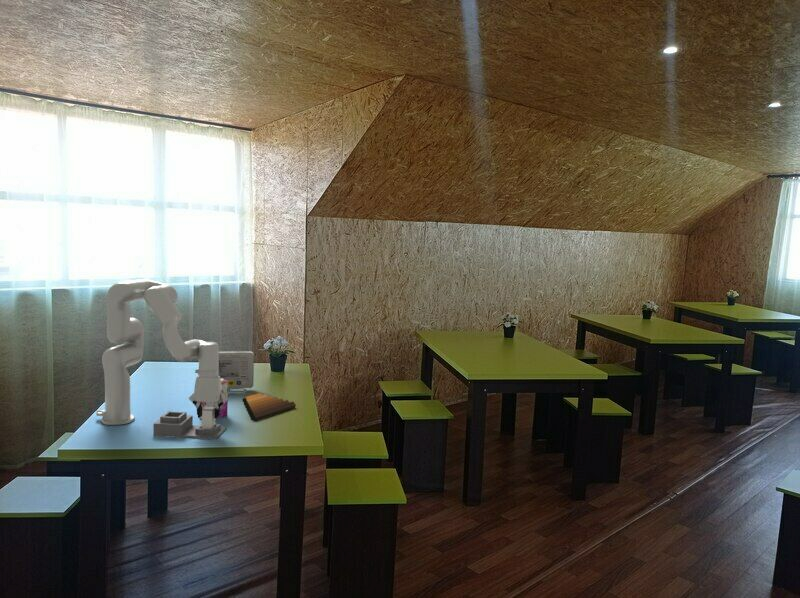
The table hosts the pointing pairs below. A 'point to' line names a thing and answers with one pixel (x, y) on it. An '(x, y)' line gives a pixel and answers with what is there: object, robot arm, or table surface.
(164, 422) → the stepped socket base
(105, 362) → the robot arm
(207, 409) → the plug
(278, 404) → the pan flute
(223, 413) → the candy bar box
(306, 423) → the table surface
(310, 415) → the table surface
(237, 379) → the network device
